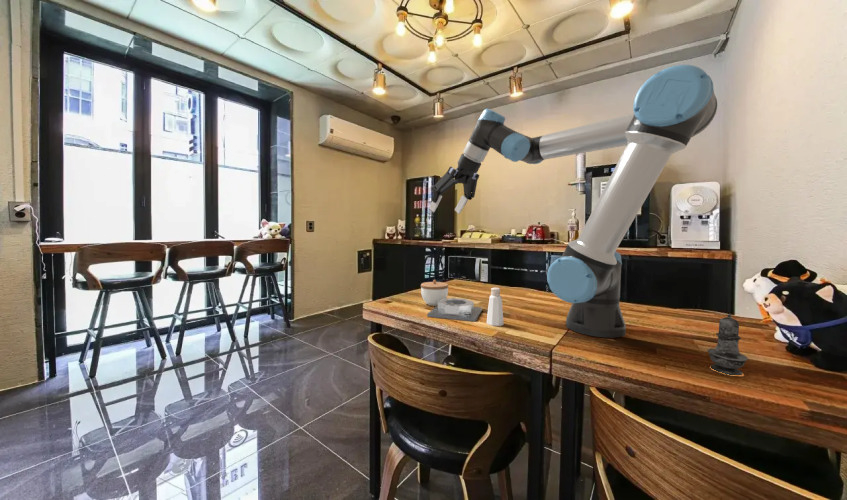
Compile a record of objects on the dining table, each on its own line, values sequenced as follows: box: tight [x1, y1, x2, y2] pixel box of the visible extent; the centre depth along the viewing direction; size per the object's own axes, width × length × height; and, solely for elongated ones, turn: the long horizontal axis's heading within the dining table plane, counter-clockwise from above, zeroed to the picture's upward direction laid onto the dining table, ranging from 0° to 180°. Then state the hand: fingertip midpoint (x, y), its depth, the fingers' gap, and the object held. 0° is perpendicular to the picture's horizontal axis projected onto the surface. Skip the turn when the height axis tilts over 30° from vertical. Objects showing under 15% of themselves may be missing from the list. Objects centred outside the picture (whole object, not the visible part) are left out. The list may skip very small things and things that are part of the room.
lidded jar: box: [420, 279, 449, 307], centre depth 119 cm, size 11×11×9 cm
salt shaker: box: [486, 287, 505, 327], centre depth 93 cm, size 5×5×11 cm
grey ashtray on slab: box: [427, 297, 483, 322], centre depth 105 cm, size 16×14×5 cm
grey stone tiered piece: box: [706, 313, 749, 376], centre depth 62 cm, size 6×6×12 cm
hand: (444, 211), depth 112 cm, fingers open, 13 cm apart
